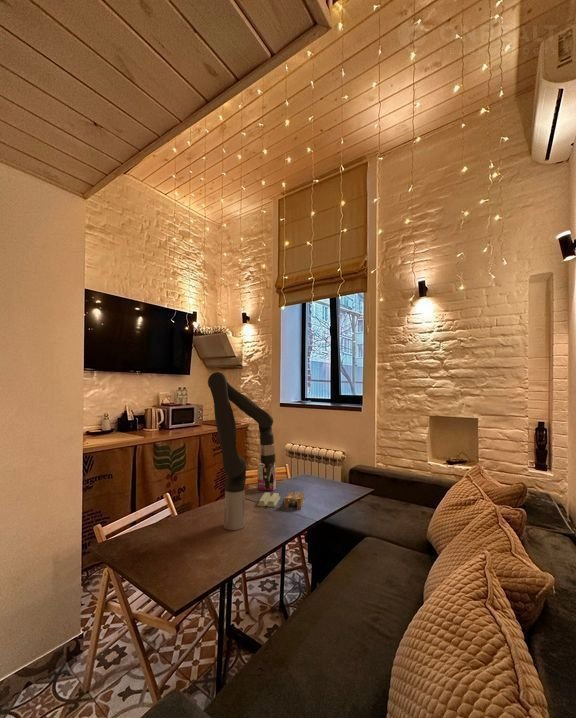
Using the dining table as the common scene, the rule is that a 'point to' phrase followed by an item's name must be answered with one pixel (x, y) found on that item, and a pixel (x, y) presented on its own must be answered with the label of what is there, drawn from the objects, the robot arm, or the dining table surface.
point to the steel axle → (293, 502)
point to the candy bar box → (260, 477)
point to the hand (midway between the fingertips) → (269, 485)
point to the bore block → (298, 498)
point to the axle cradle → (269, 500)
